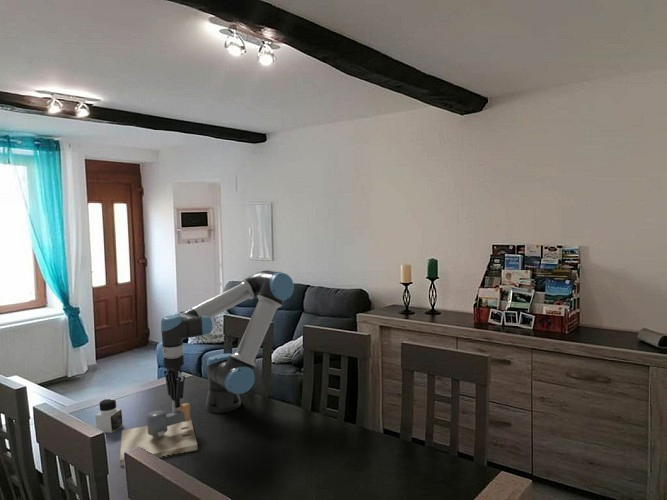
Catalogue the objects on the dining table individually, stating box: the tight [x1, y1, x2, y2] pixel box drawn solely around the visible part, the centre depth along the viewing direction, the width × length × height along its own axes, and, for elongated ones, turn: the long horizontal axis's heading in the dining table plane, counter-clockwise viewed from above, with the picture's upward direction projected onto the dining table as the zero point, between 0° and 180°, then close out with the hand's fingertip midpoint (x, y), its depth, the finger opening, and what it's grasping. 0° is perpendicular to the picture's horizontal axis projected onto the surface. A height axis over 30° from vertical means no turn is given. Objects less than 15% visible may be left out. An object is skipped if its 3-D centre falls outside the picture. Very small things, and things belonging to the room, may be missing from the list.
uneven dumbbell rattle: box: [146, 402, 192, 436], centre depth 192 cm, size 10×16×7 cm, turn 126°
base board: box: [119, 419, 198, 467], centre depth 190 cm, size 26×26×4 cm
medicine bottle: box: [95, 398, 124, 434], centre depth 204 cm, size 7×7×12 cm
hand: (176, 414), depth 196 cm, fingers closed
